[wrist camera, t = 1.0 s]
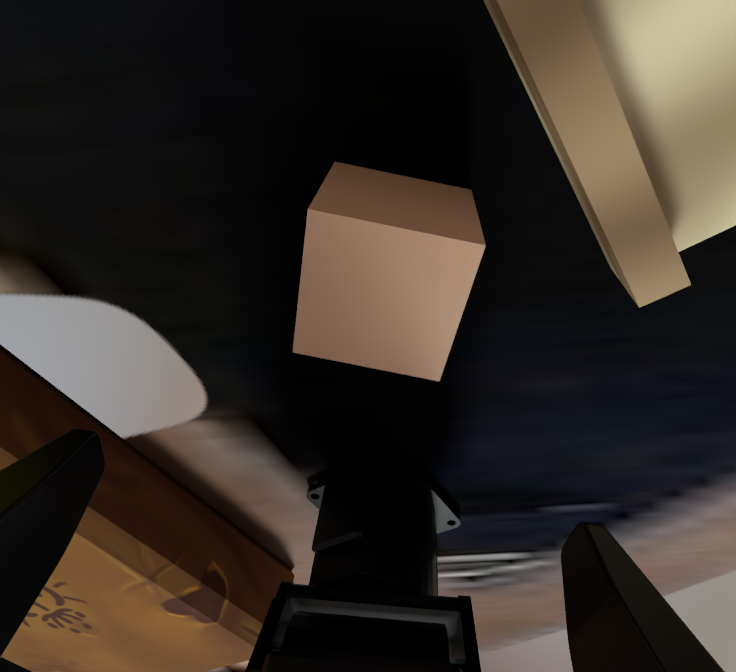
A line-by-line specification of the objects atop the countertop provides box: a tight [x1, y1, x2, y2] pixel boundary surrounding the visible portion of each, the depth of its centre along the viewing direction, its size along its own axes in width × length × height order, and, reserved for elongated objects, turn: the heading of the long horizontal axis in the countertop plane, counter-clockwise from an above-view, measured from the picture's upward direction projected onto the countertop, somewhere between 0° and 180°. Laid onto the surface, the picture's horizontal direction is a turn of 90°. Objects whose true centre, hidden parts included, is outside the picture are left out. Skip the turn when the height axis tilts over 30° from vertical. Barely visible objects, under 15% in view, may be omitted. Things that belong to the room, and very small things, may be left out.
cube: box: [293, 162, 486, 381], centre depth 17 cm, size 5×5×5 cm
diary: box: [0, 345, 294, 672], centre depth 30 cm, size 23×19×6 cm
